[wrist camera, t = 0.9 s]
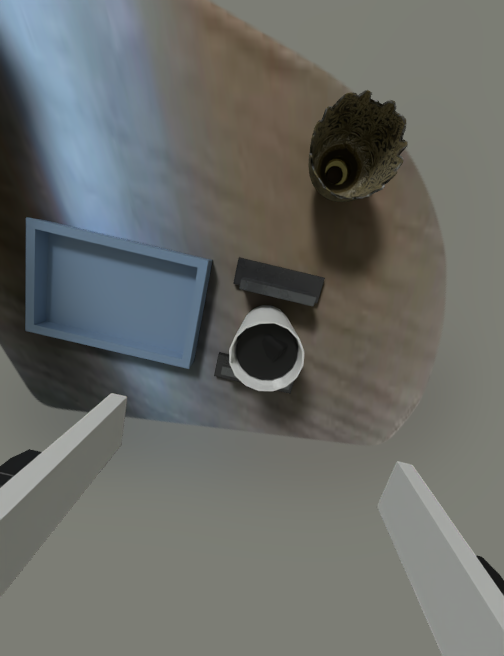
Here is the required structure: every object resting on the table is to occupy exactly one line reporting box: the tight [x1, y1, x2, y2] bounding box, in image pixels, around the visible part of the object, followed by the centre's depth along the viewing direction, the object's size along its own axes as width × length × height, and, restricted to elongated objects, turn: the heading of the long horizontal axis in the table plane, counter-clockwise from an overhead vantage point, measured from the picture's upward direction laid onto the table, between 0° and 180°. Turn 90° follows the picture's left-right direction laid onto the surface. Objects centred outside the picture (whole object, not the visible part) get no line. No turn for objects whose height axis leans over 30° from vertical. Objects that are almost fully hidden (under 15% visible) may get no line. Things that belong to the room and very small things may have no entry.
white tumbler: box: [229, 305, 304, 391], centre depth 29 cm, size 7×7×10 cm
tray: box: [25, 217, 213, 369], centre depth 32 cm, size 13×20×2 cm, turn 77°
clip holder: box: [214, 257, 325, 393], centre depth 32 cm, size 15×10×4 cm, turn 167°
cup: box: [309, 90, 407, 202], centre depth 25 cm, size 7×7×8 cm
